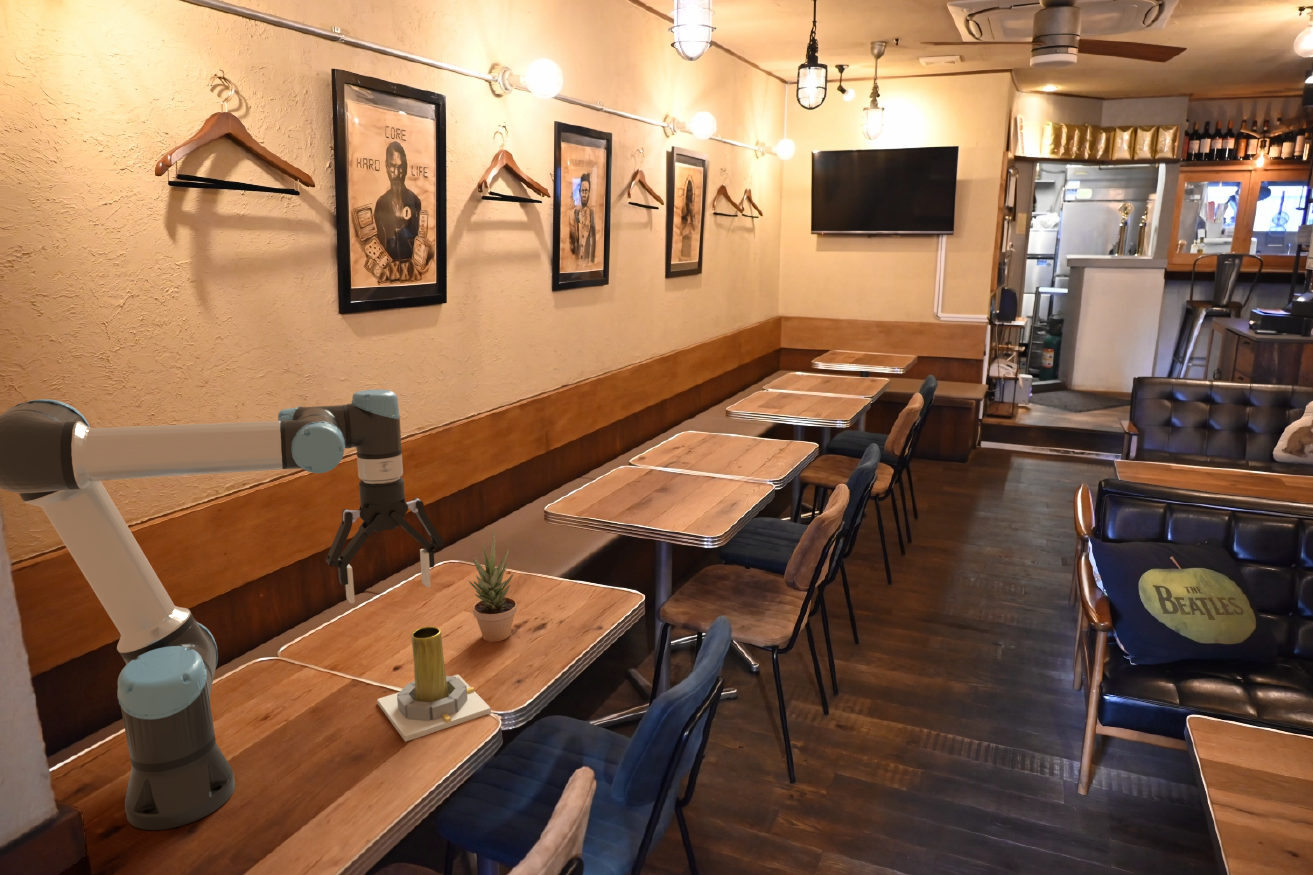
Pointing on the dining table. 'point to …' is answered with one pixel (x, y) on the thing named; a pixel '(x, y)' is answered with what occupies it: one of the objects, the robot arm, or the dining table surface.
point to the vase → (429, 665)
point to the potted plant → (493, 599)
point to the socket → (432, 709)
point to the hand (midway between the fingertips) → (389, 592)
